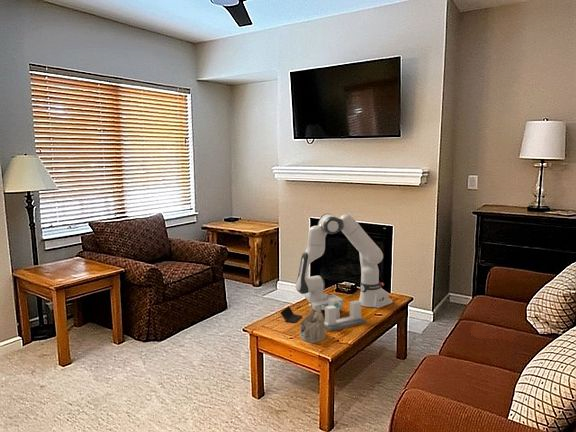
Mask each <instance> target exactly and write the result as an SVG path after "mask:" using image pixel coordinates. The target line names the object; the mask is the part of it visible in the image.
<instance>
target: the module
mask: <svg viewBox="0 0 576 432" xmlns="http://www.w3.org/2000/svg"><path fill="white" fill-rule="evenodd" d="M331 305H333V306H335V307H336V319H338V318H341V317H340V311H341V310H340V309H341V308H340V300H338V299H337V298H335V297H334V298H329V299H328V306H331Z"/></svg>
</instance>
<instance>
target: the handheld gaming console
mask: <svg viewBox="0 0 576 432" xmlns="http://www.w3.org/2000/svg"><path fill="white" fill-rule="evenodd" d="M280 314H281V317H283V319H284V321H285V323H289V324H290V323H291V324H296V323H298V321H300V320H301V319H302V317H303V315H300V314H296V313H294V312H293V310H292V309H291V307H290V306H287V307H286V308H284V309H283V310H281V312H280Z"/></svg>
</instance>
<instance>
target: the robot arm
mask: <svg viewBox="0 0 576 432" xmlns="http://www.w3.org/2000/svg"><path fill="white" fill-rule="evenodd" d="M338 232H339V233H340V232H341V233H342V234H343V235H344V236H345V237H346V238H347V240H348V241H349V243H351V244H352V246H353V247H354V249H356V250H357V251H358V253H359V262H360V273H361V275H360V284H359V285H360V293H359V294H360V295H359V299H358V301H360V302H361V307H362V306H363V307H367V308H368V307H369V308H377V309H379V308H382V307H385V306H388V305H391V304H393V300H392V299H391V298H390V295H389V293H388V291H386V290H385V289H383V288H382V287H383V286H385V283H384V282H380V280H379V277H380V271H379V266H378V264H380V263H381V262H382V261H383V259H384V253H383V252H382V250H381V248H380V247H379V246H378V245H377V244H376V242H374V240H373V239H372V238H371V237H370V236H369V235H368V233H367V232H366V231H365V230H364V228H363V227H362V226H361V225H360V224H359V223H358V221H356V219H354V218H353V217H352V216H351V215H350V214H347V213H345V214H342V215H340V217H337V216H335V215H333V214H331V213H325V214H323V215H321V217H320V218H319V220H318V221H317V223H316V225H313V226H311V227H309V229H308V233H307V239H306V240H307V245H306V248H305V251H304V252H303V253H302V255H301V258H300V262H299V267H298V268H299V269H298V275H297V278H296V282H295V289H296V291H297V292H298V293H299V294H301V295H304V298H305V299H306V300H307V301H308V302H309V303H308V306H309V307H311V309H312V310H313V311H315V312H317V311H318V310H319V308H321V311H323V310H324V311H325V307H327V306H328V299H329V298H334V297H335V298H337V299H338V300H340V309H341V308H343V305H344V299H343V298H342V297H340V296H337V295H335V294H334V293H325V292H324V291H325V286H326V283H325V280H324V278H323V277H322V276H321V275H312V276H308V271H309V266H310V264H311V263H312V262H314V261H315V260H317V259H319V258H321V257H322V256H323V255H324V254H325V250H326V237H327V235H328V234H329V235H334V234H337V233H338Z"/></svg>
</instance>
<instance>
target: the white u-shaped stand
mask: <svg viewBox="0 0 576 432" xmlns="http://www.w3.org/2000/svg"><path fill="white" fill-rule="evenodd" d="M366 323H367V319H365V318H363V316H362V305H361V302H360V301H359V299H358V300H357V299H356V300H351V301H349V315H347V316H343V317H340V318H337V319H336V307H335V306H333V305H331V306H327V307H325V310H324V325H325V330H326V331H328V332H332V331H338V330H340V329H345V328H350V327H353V326H357V325H358V326H359V325H361V324H366Z"/></svg>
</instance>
